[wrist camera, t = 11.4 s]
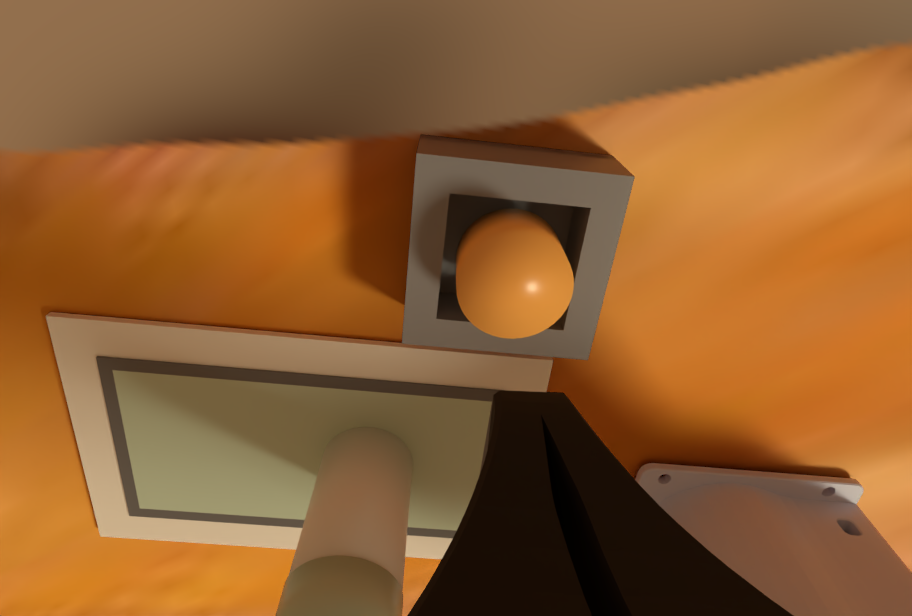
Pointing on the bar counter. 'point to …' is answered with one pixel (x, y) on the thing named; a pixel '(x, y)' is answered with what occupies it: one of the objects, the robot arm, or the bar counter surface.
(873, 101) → the bar counter surface
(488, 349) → the button housing
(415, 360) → the picture sheet
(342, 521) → the cylinder
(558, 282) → the button
